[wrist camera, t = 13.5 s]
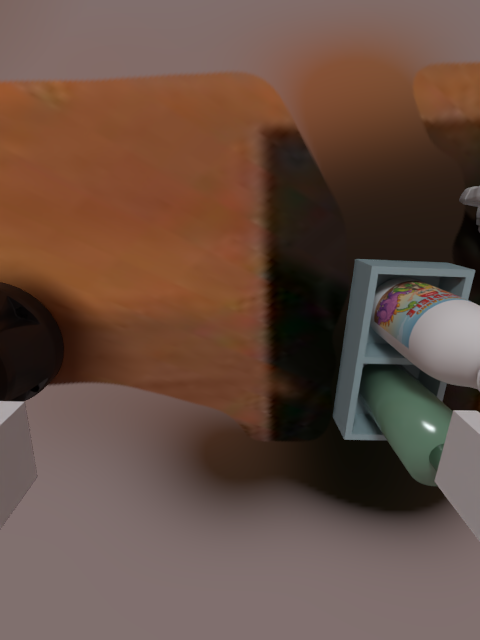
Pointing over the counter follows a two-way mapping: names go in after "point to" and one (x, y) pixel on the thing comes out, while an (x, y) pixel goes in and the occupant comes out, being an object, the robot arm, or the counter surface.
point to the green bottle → (406, 417)
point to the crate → (371, 347)
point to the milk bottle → (430, 329)
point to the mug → (472, 200)
